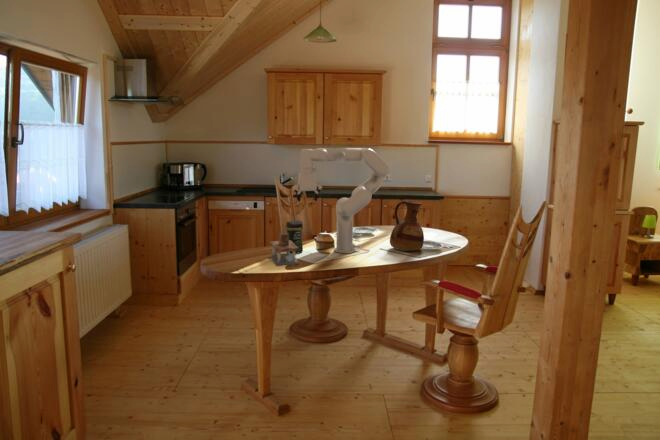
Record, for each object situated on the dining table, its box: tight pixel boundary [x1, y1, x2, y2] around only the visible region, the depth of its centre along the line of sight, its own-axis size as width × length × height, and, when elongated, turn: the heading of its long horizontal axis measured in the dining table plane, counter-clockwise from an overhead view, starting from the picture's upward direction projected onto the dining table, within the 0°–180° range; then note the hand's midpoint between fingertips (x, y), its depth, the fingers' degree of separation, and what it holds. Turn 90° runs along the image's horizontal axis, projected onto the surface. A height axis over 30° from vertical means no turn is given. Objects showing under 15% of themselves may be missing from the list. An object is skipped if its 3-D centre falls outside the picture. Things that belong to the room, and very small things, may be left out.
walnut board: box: [269, 232, 299, 253], centre depth 282 cm, size 12×20×8 cm, turn 17°
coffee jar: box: [285, 220, 304, 254], centre depth 302 cm, size 10×8×19 cm
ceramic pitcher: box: [389, 199, 425, 252], centre depth 309 cm, size 20×20×30 cm
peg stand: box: [269, 248, 300, 267], centre depth 283 cm, size 12×20×8 cm, turn 17°
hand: (307, 200), depth 298 cm, fingers open, 9 cm apart
